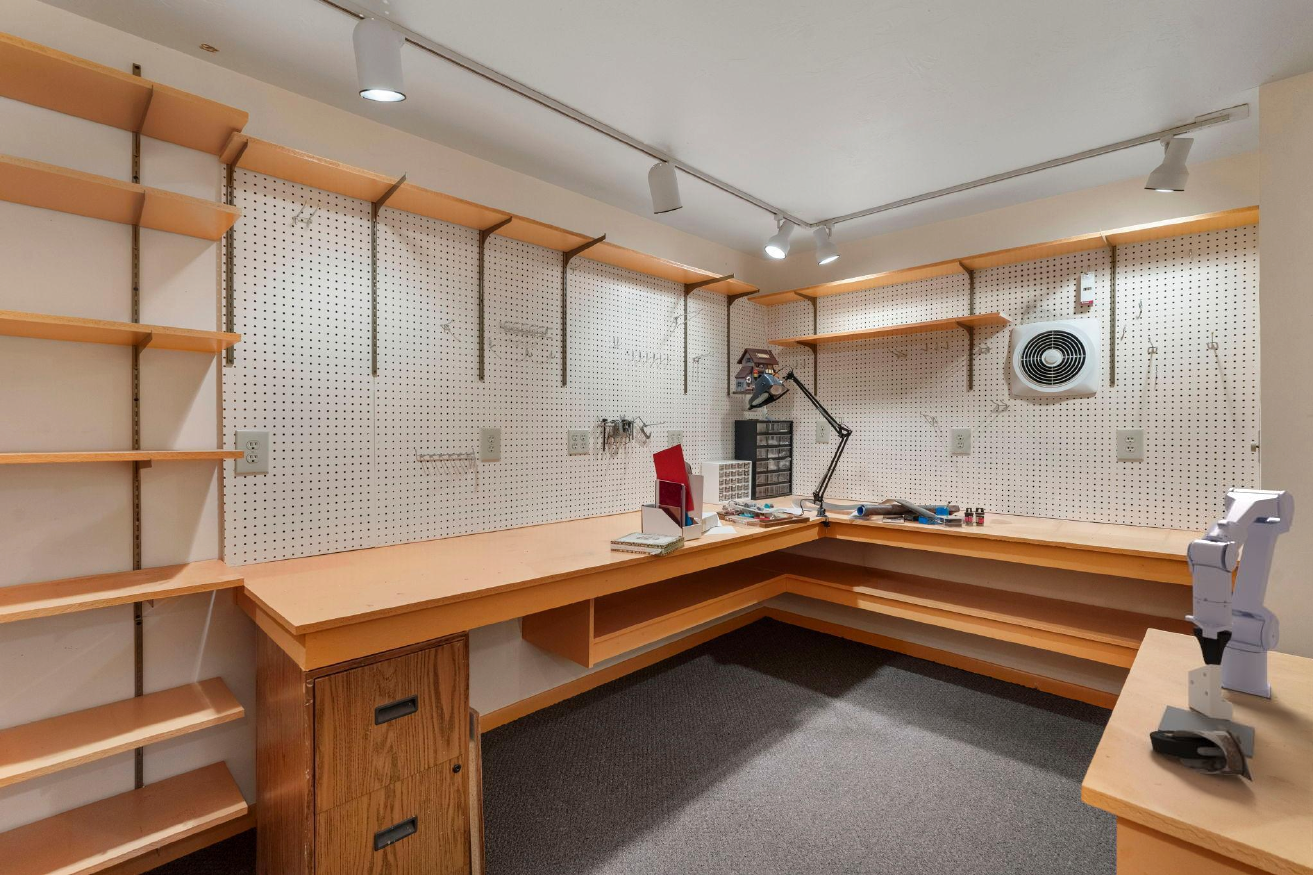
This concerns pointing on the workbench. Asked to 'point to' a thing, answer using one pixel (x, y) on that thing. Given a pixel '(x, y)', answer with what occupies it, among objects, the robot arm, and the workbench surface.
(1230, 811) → the workbench surface
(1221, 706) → the white angled block
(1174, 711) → the rubber mat
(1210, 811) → the workbench surface
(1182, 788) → the workbench surface
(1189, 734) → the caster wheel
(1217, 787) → the workbench surface
